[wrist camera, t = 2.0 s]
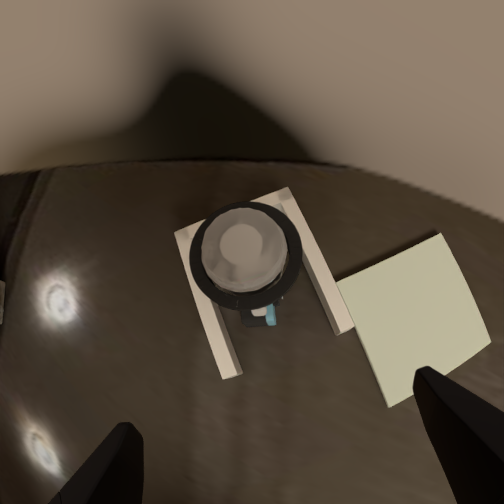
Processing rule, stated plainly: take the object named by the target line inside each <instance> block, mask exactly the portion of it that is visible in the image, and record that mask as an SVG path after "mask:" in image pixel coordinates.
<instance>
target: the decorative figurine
mask: <svg viewBox="0 0 504 504" xmlns="http://www.w3.org/2000/svg"><path fill="white" fill-rule="evenodd" d="M4 294H5V282H3V281H1V280H0V325H1V324H2V320H3V312H4V296H5V295H4Z"/></svg>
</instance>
